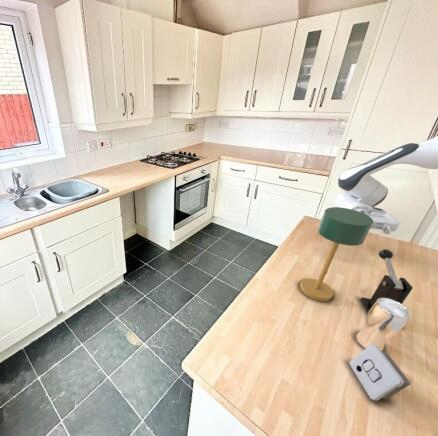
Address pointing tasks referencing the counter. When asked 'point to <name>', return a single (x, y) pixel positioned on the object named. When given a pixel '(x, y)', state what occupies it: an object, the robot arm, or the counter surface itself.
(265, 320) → the counter surface
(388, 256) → the switch lever
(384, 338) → the beer glass
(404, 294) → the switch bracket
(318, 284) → the desk lamp
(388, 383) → the electrical switch
